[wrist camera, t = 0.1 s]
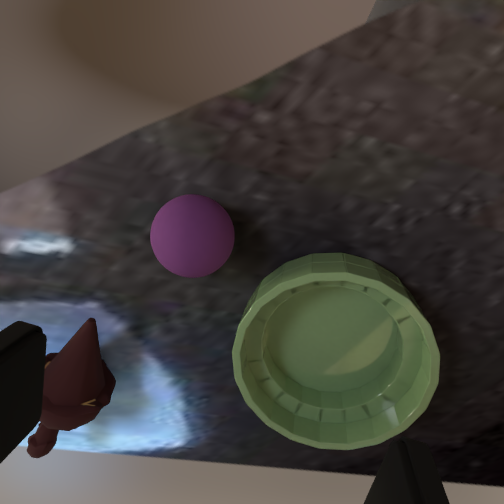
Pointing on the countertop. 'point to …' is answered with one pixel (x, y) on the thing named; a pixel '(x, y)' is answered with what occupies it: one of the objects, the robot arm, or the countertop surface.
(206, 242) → the ball
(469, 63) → the countertop surface
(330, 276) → the bowl
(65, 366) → the brown gnome figurine
